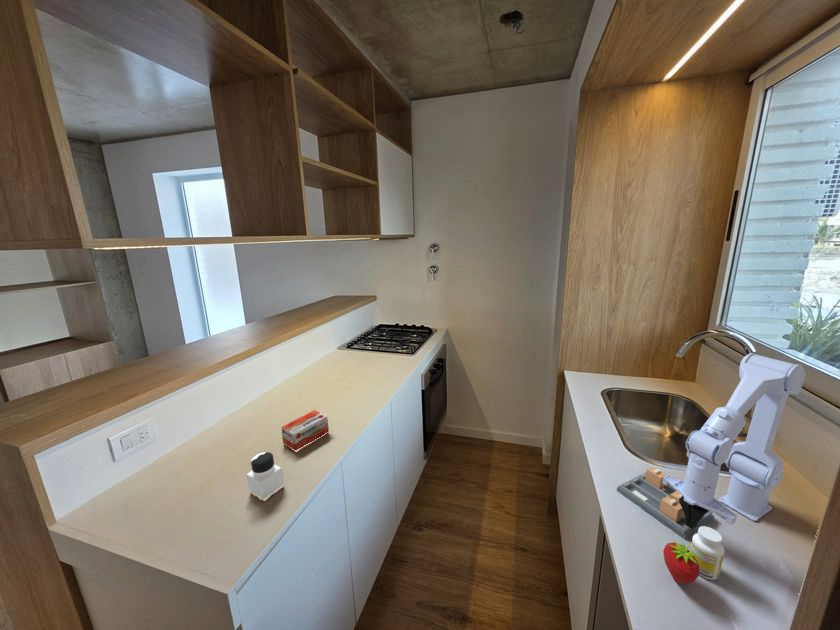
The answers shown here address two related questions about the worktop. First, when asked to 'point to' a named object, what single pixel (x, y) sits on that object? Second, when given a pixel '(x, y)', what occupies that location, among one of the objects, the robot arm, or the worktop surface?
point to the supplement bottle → (708, 552)
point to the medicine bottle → (264, 475)
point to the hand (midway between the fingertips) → (691, 525)
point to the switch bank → (658, 504)
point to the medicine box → (304, 429)
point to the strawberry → (681, 563)
